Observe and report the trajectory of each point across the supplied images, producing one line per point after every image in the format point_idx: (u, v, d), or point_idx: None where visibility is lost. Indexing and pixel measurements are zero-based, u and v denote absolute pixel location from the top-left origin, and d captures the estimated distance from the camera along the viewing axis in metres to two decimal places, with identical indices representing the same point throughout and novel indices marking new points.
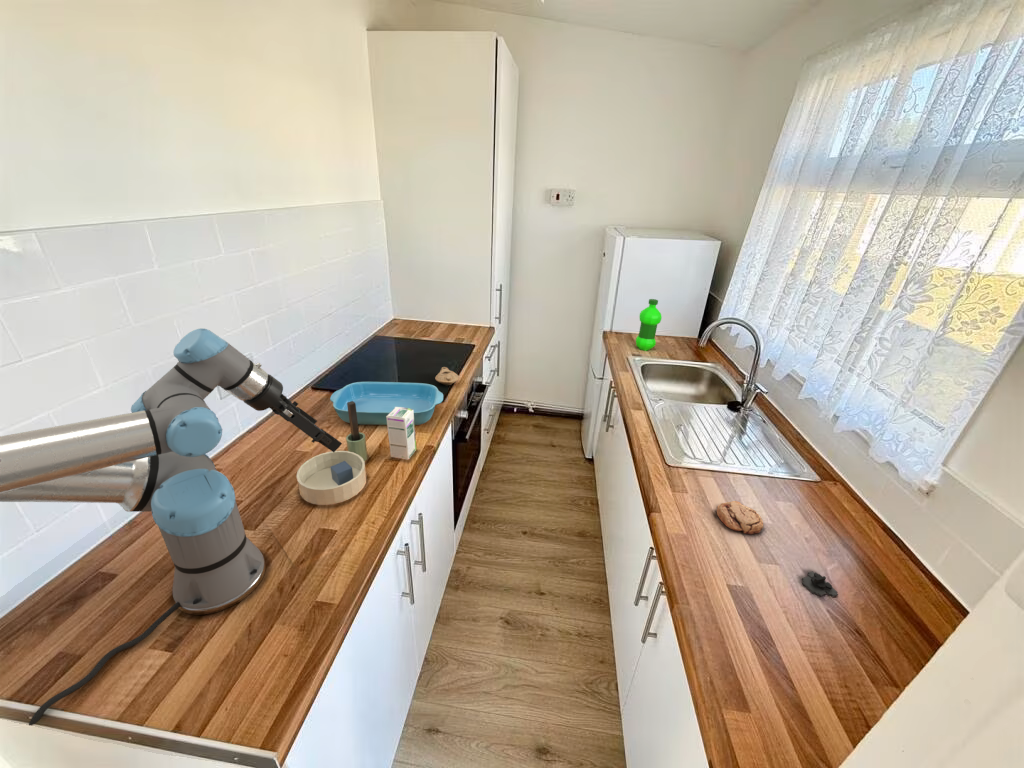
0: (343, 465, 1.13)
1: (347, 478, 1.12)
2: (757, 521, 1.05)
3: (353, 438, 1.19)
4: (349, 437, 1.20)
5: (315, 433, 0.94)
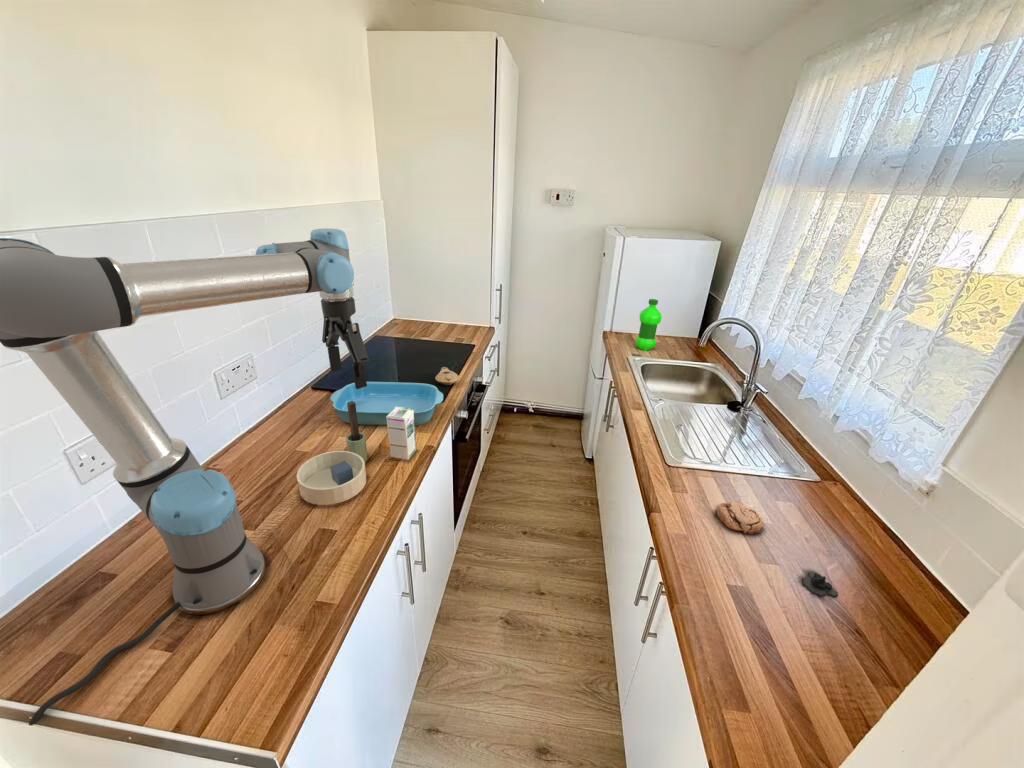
0: (343, 465, 1.13)
1: (347, 478, 1.12)
2: (757, 521, 1.05)
3: (353, 438, 1.19)
4: (349, 437, 1.20)
5: (363, 356, 1.02)
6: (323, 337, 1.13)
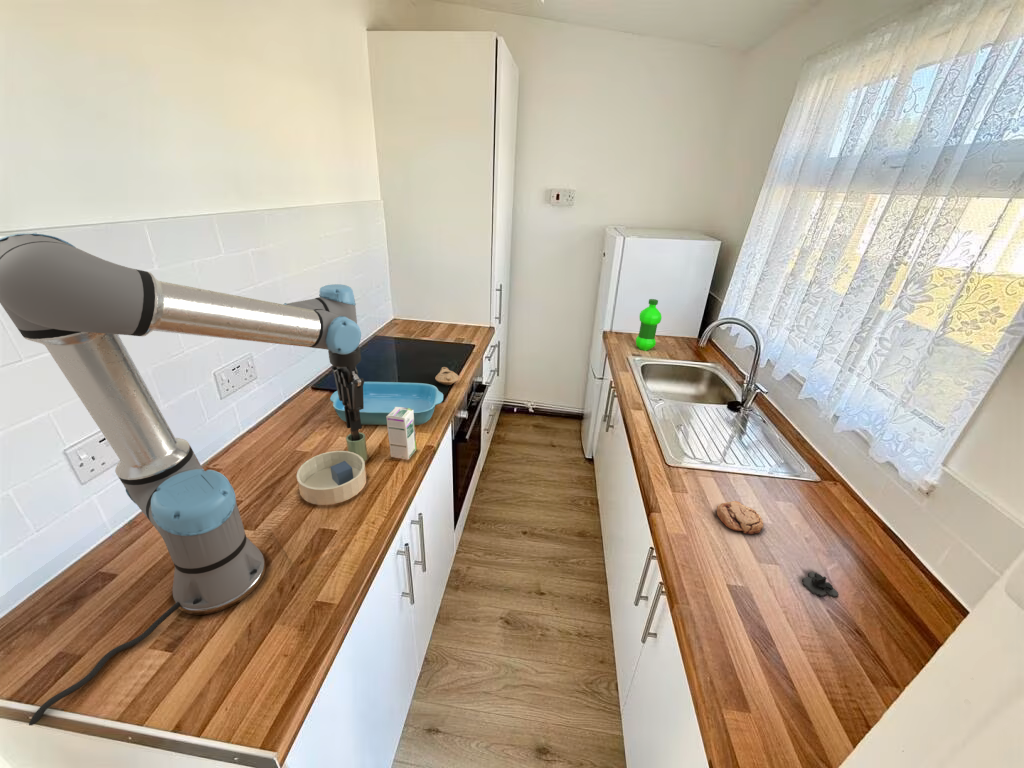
0: (343, 465, 1.13)
1: (347, 478, 1.12)
2: (757, 521, 1.05)
3: (353, 438, 1.19)
4: (349, 437, 1.20)
5: (359, 405, 1.12)
6: (339, 394, 1.16)
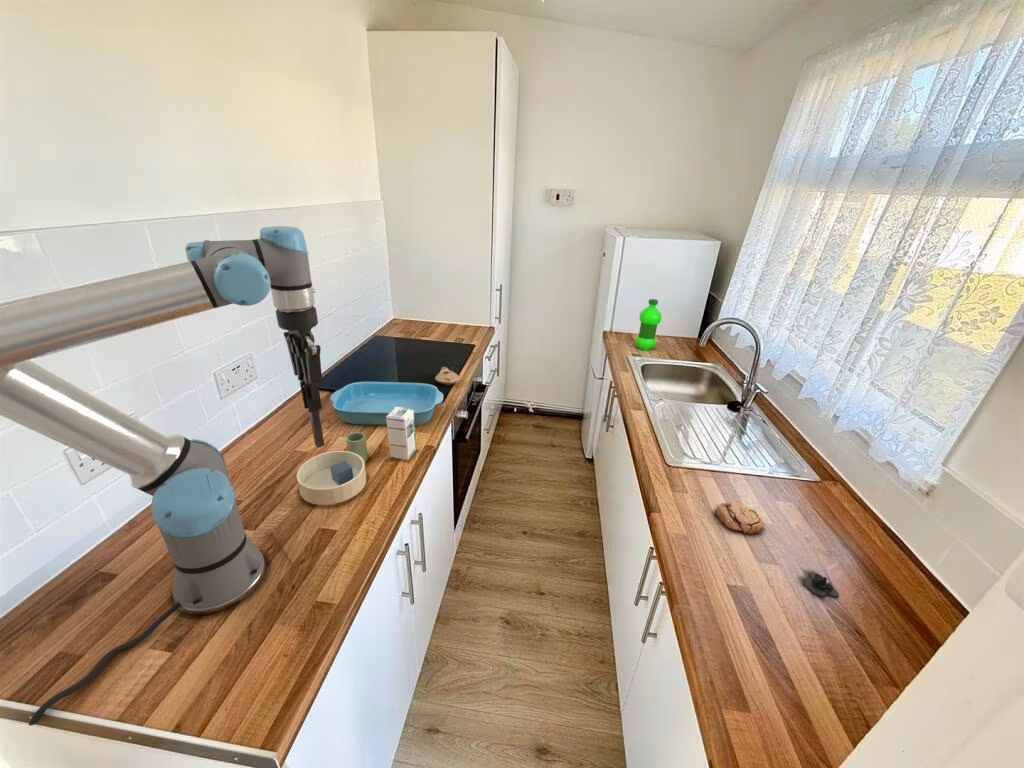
0: (343, 465, 1.13)
1: (347, 478, 1.12)
2: (757, 521, 1.05)
3: (312, 420, 0.99)
4: (349, 437, 1.20)
5: (316, 380, 0.91)
6: (293, 367, 0.96)
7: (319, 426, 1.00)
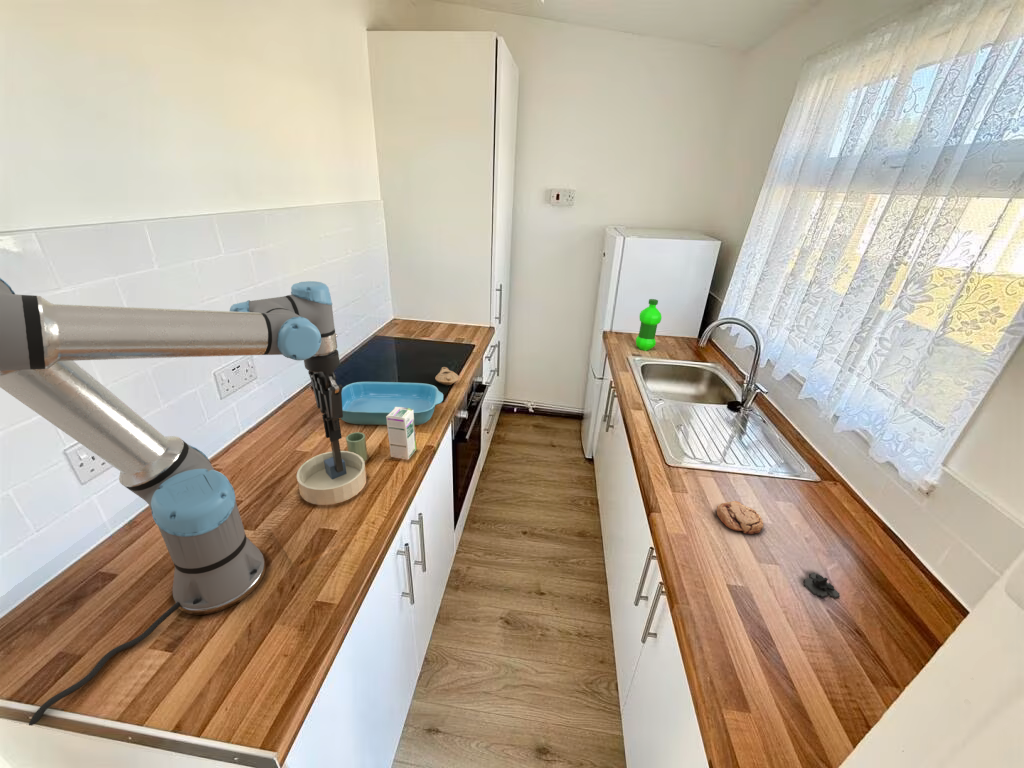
0: None
1: (340, 472, 1.15)
2: (757, 521, 1.05)
3: (333, 449, 1.10)
4: (349, 437, 1.20)
5: (337, 414, 1.02)
6: (316, 401, 1.07)
7: (339, 453, 1.11)
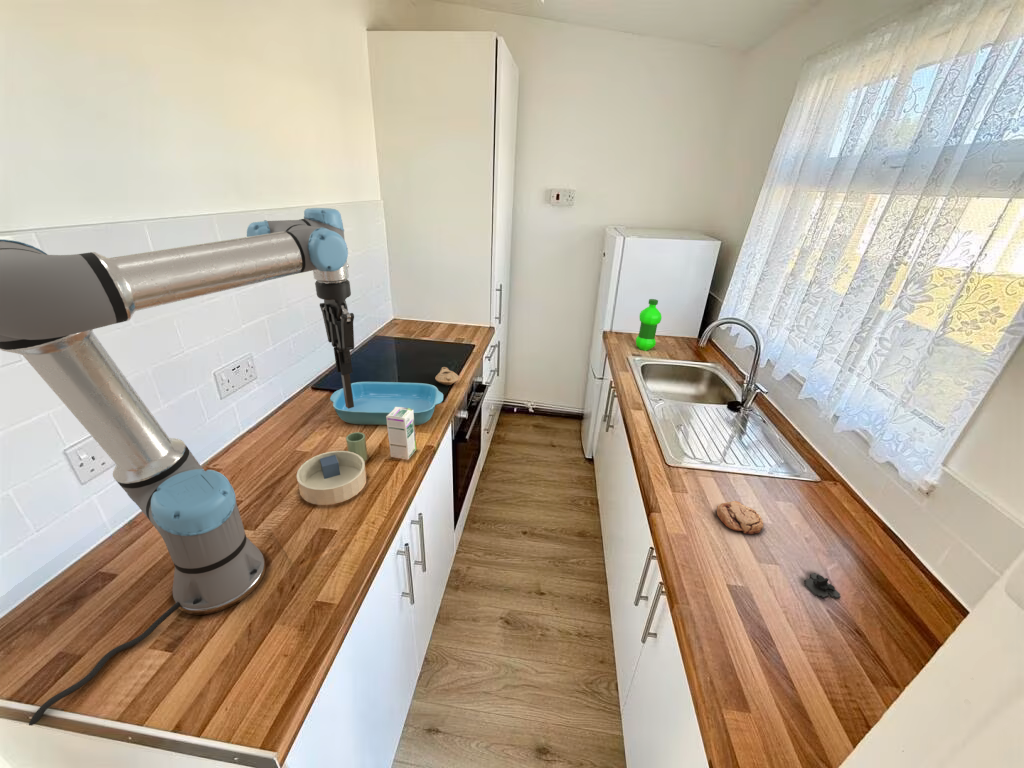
0: (331, 459, 1.15)
1: (333, 472, 1.14)
2: (757, 521, 1.05)
3: (344, 383, 1.11)
4: (349, 437, 1.20)
5: (349, 344, 1.03)
6: (328, 335, 1.08)
7: (350, 389, 1.12)
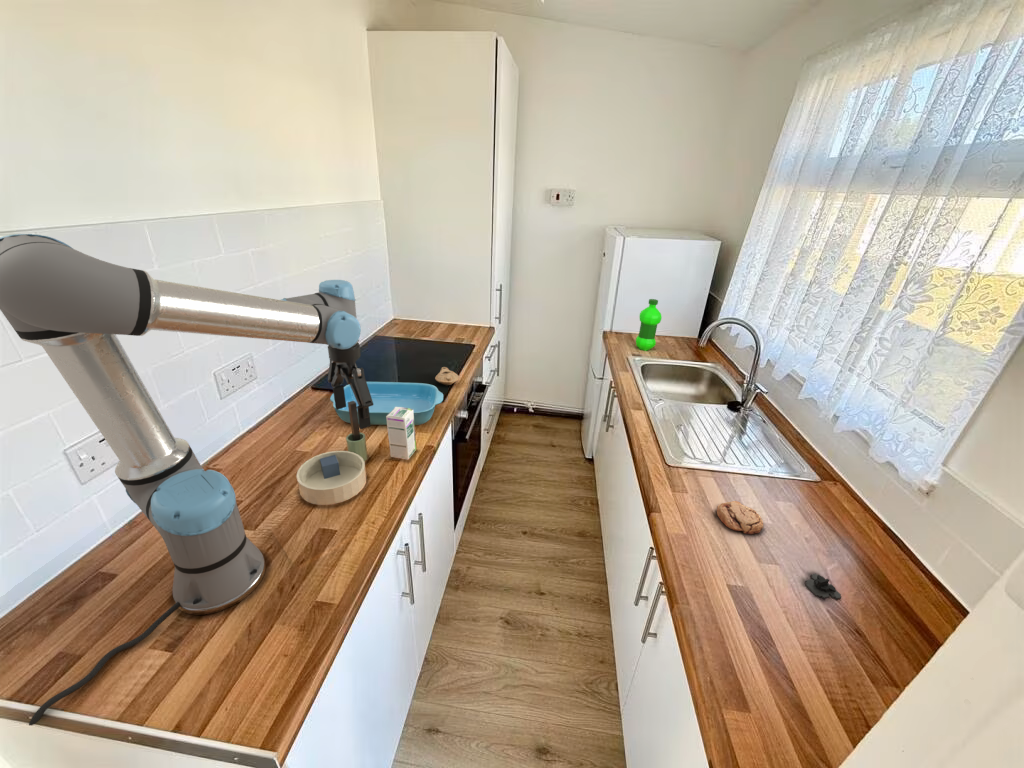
0: (331, 459, 1.15)
1: (333, 472, 1.14)
2: (757, 521, 1.05)
3: (354, 438, 1.19)
4: (349, 437, 1.20)
5: (367, 400, 1.07)
6: (329, 377, 1.18)
7: None
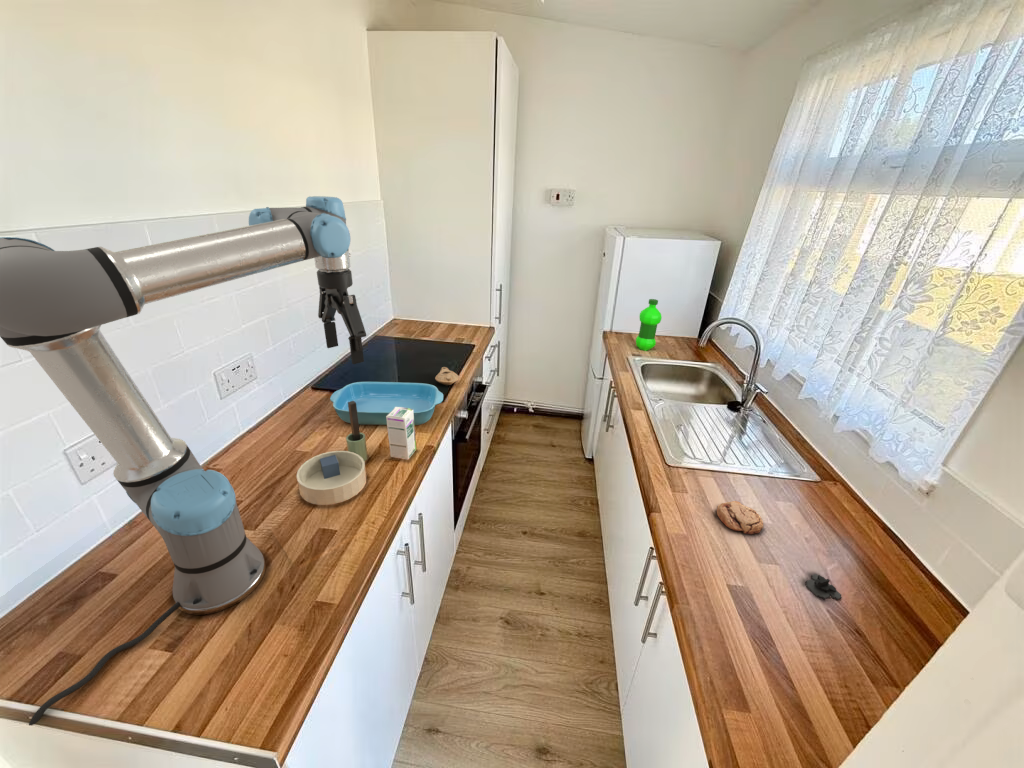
0: (331, 459, 1.15)
1: (333, 472, 1.14)
2: (757, 521, 1.05)
3: (354, 438, 1.19)
4: (349, 437, 1.20)
5: (359, 329, 0.99)
6: (319, 312, 1.10)
7: None
